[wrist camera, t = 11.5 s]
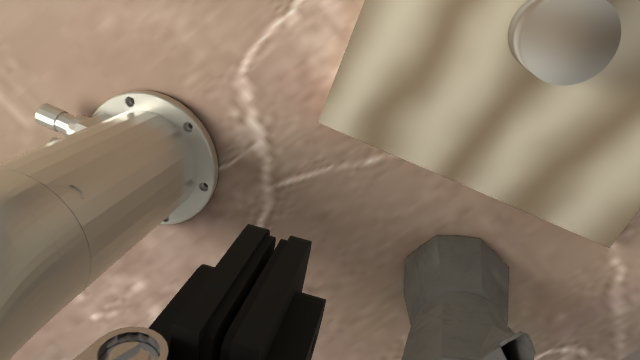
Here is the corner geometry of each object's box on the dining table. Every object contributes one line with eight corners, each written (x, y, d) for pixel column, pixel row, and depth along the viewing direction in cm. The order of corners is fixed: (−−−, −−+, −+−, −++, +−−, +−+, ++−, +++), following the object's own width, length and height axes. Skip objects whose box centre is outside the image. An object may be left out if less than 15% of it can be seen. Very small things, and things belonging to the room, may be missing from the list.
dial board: (322, 116, 38) (317, 123, 36) (462, -242, 28) (464, -259, 26) (600, 235, 37) (610, 249, 35) (847, -93, 27) (880, -99, 25)
